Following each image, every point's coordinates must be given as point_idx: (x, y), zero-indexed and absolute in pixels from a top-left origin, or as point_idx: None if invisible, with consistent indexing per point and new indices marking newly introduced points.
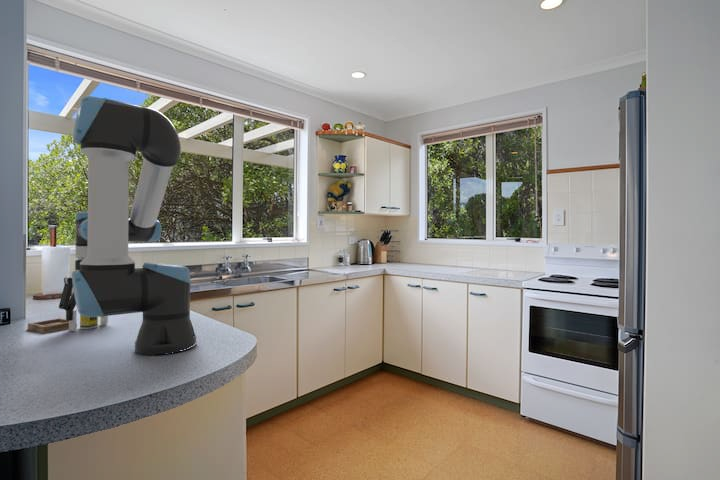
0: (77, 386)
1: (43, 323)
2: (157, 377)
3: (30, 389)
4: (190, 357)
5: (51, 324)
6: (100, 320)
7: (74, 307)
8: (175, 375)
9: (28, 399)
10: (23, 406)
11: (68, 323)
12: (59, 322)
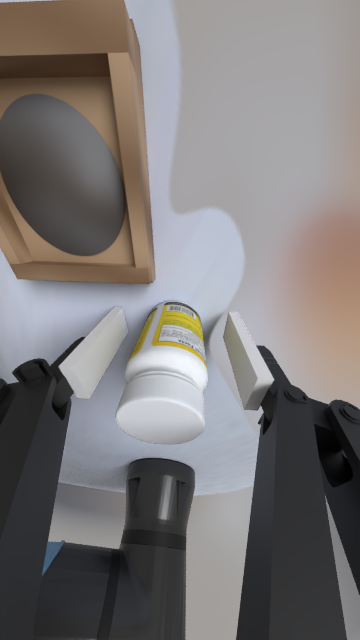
0: (64, 471)
1: (7, 70)
2: (111, 485)
3: None
4: None
5: (60, 161)
6: (231, 319)
7: (69, 413)
8: (121, 488)
9: None
10: None
11: (115, 281)
12: (112, 120)
